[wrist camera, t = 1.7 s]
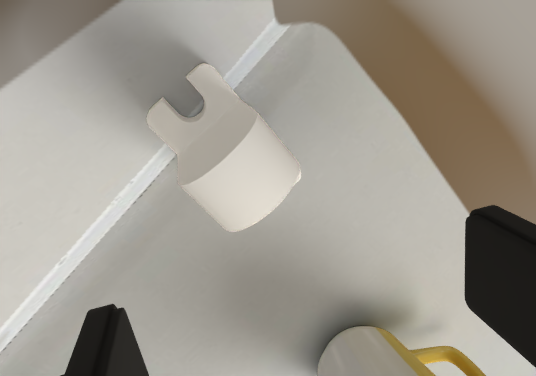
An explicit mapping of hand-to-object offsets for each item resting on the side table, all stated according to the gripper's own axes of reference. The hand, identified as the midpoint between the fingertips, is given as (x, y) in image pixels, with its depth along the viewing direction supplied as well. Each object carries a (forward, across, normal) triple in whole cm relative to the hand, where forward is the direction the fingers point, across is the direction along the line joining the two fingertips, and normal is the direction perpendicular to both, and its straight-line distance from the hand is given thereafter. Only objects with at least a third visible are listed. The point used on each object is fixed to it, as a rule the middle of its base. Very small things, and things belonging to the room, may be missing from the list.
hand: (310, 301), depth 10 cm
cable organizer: (+18, 0, 0) cm, 18 cm away
